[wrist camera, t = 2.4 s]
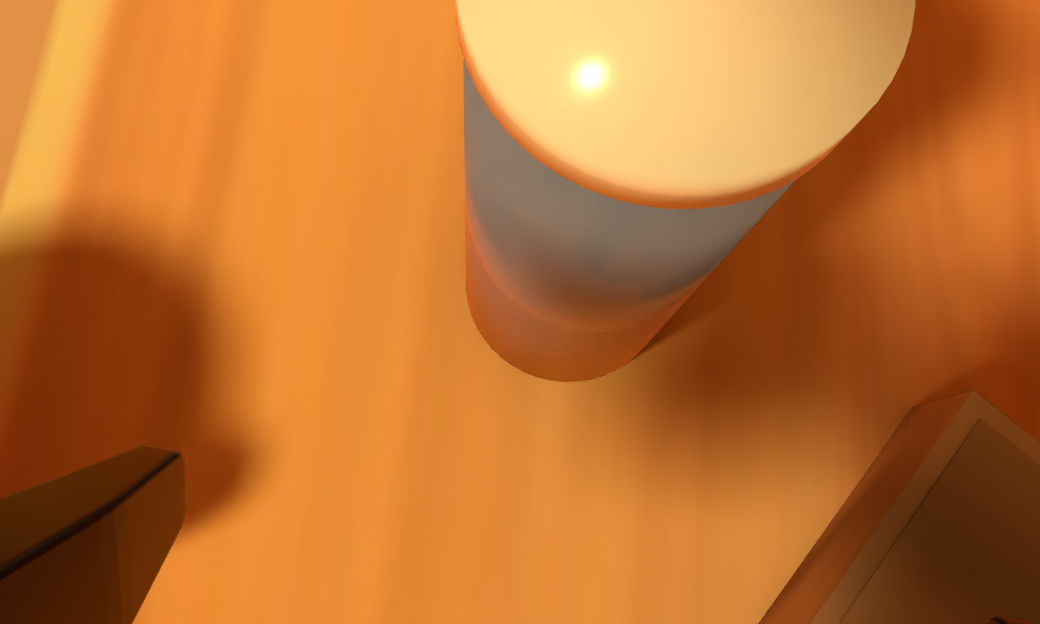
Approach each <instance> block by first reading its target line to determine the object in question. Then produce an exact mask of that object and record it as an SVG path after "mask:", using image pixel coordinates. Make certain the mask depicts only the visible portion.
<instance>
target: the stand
mask: <svg viewBox="0 0 1040 624" xmlns="http://www.w3.org/2000/svg"><path fill="white" fill-rule="evenodd" d="M993 616H1003V617H1007V618H1012V619H1017V620H1022V621H1027V622H1029V623H1031V624H1040V441H1039V440H1037V439H1036V438H1035V437H1034V436H1032V435H1031V434H1030V433H1028V432H1027V431H1026V430H1025V429H1023V428H1022V427H1021V426H1019V425H1018V424H1017V423H1016V422H1014V421H1013V420H1012V419H1010V418H1009V417H1008V416H1007V415H1005V414H1004V413H1003V412H1001V411H1000V410H999V409H998V408H996V407H995V406H994V405H992V404H991V403H990V402H989V401H987V400H986V399H985V398H983V397H982V396H981V395H980V394H978V393H977V392H976V391H974V390H970V391H967V392H963V393H960V394H957V395H953V396H950V397H947V398H943V399H940V400H937V401H933V402H930V403H927V404H923V405H920V406H917V407H913V408H912V409H911V410H910V412H909V413H908V415H907V416H906V417H905V419H904V420H903V422H902V423H901V424H900V426H899V427H898V429H897V430H896V431H895V433H894V434H893V436H892V437H891V438H890V440H889V441H888V443H887V444H886V446H885V447H884V448H883V450H882V451H881V453H880V454H879V455H878V457H877V458H876V460H875V461H874V462H873V464H872V465H871V467H870V468H869V469H868V471H867V472H866V474H865V475H864V476H863V478H862V479H861V481H860V482H859V483H858V485H857V486H856V488H855V489H854V490H853V492H852V493H851V495H850V496H849V497H848V499H847V500H846V502H845V503H844V504H843V506H842V507H841V509H840V510H839V512H838V513H837V514H836V516H835V517H834V519H833V520H832V521H831V523H830V524H829V526H828V527H827V528H826V530H825V531H824V533H823V534H822V535H821V537H820V538H819V540H818V541H817V542H816V544H815V545H814V547H813V548H812V549H811V551H810V552H809V554H808V555H807V556H806V558H805V559H804V561H803V562H802V563H801V565H800V566H799V568H798V569H797V571H796V572H795V573H794V575H793V576H792V578H791V579H790V580H789V582H788V583H787V585H786V586H785V587H784V589H783V590H782V592H781V593H780V594H779V596H778V597H777V599H776V600H775V601H774V603H773V604H772V606H771V607H770V608H769V610H768V611H767V613H766V614H765V615H764V617H763V618H762V620H761V621H760V622H759V624H984V622H985V621H986V620H987V619H989V618H990V617H993Z"/></svg>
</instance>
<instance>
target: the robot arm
mask: <svg viewBox="0 0 1040 624" xmlns="http://www.w3.org/2000/svg"><path fill="white" fill-rule="evenodd" d="M185 511H186V484H185V460H184V456H183V454H182V453H181V452H180V451H178V450H175V449H170V448H165V447H160V446H156V445H143V446H140V447H137V448H134V449H132V450H129V451H126V452H124V453H121V454H118V455H115V456H113V457H110V458H107V459H105V460H102V461H99V462H97V463H94V464H91V465H88V466H86V467H83V468H80V469H78V470H75V471H72V472H70V473H67V474H64V475H61V476H59V477H56V478H53V479H51V480H48V481H45V482H43V483H40V484H37V485H34V486H32V487H29V488H26V489H24V490H21V491H18V492H15V493H13V494H10V495H7V496H5V497H2V498H0V624H132V623H133V621H134V619H135V617H136V615H137V613H138V611H139V609H140V607H141V606H142V604H143V602H144V600H145V598H146V596H147V594H148V592H149V590H150V588H151V586H152V584H153V582H154V580H155V578H156V576H157V574H158V572H159V570H160V568H161V566H162V564H163V562H164V561H165V559H166V557H167V555H168V553H169V551H170V549H171V547H172V545H173V543H174V541H175V539H176V537H177V535H178V533H179V531H180V529H181V526H182V523H183V520H184V516H185ZM984 624H1031V623H1029V622H1027V621H1022V620H1017V619H1012V618H1007V617H1003V616H993V617H990V618H989V619H987V620H986V621H985V622H984Z"/></svg>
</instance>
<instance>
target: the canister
mask: <svg viewBox="0 0 1040 624" xmlns="http://www.w3.org/2000/svg"><path fill="white" fill-rule="evenodd" d="M914 11H915V0H455V14H456V24H457V31H458V37H459V44H460V47H461V50H462V54H463V57H464V143H465V235H466V293H467V300H468V305H469V308H470V312H471V315H472V317H473V320H474V322H475V324H476V326H477V328H478V330H479V331H480V333H481V335H482V336H483V338H484V339H485V341H486V342H487V343H488V344H489V345H490V347H491V348H492V349H493V350H494V351H495V352H496V353H497V354H498V355H499V356H500V357H501V358H503V359H504V360H505V361H507V362H508V363H510V364H511V365H512V366H514V367H516V368H518V369H520V370H521V371H523V372H525V373H528V374H530V375H533V376H536V377H539V378H543V379H547V380H552V381H560V382H578V381H585V380H591V379H594V378H598V377H601V376H604V375H606V374H609V373H611V372H613V371H615V370H617V369H619V368H620V367H622V366H624V365H625V364H627V363H628V362H629V361H630V360H632V359H633V358H634V357H635V356H636V355H637V354H638V353H639V352H640V351H641V350H642V349H643V348H644V347H645V346H646V345H647V344H648V342H649V341H650V340H651V339H652V338H653V337H654V336H655V335H656V334H657V333H658V331H659V330H660V329H661V328H662V327H663V326H664V325H665V324H666V323H667V321H668V320H669V319H670V318H671V317H672V316H673V315H674V314H675V313H676V312H677V310H678V309H679V308H680V307H681V306H682V305H683V304H684V303H685V302H686V300H687V299H688V298H689V297H690V296H691V295H692V294H693V293H694V292H695V291H696V289H697V288H698V287H699V286H700V285H701V284H702V283H703V282H704V281H705V279H706V278H707V277H708V276H709V275H710V274H711V273H712V272H713V271H714V270H715V268H716V267H717V266H718V265H719V264H720V263H721V262H722V261H723V260H724V258H725V257H726V256H727V255H728V254H729V253H730V252H731V251H732V250H733V249H734V247H735V246H736V245H737V244H738V243H739V242H740V241H741V240H742V239H743V238H744V236H745V235H746V234H747V233H748V232H749V231H750V230H751V229H752V228H753V226H754V225H755V224H756V223H757V222H758V221H759V220H760V219H761V218H762V217H763V215H764V214H765V213H766V212H767V211H768V210H769V209H770V208H771V207H772V205H773V204H774V203H775V202H776V201H777V200H778V199H779V198H780V197H781V196H782V194H783V193H784V192H785V191H786V190H787V189H788V188H789V187H790V186H791V184H792V183H793V182H794V181H795V180H796V179H797V178H799V177H801V176H802V175H804V174H805V173H807V172H808V171H809V170H810V169H812V168H813V167H814V166H816V165H817V164H818V163H819V162H821V161H822V160H823V159H824V158H826V156H827V155H828V154H829V153H830V152H831V151H832V150H833V149H834V148H835V147H836V146H837V145H838V144H839V143H840V142H841V141H842V140H843V138H844V137H845V136H846V135H847V134H848V133H849V132H850V131H851V130H852V129H853V128H854V127H855V126H856V124H857V123H858V122H859V121H860V120H861V119H862V118H863V117H864V116H865V115H866V114H867V113H868V112H869V111H870V109H871V108H872V107H873V106H874V105H875V104H876V103H877V102H878V100H879V99H880V97H881V96H882V95H883V93H884V92H885V90H886V89H887V87H888V86H889V84H890V83H891V82H892V80H893V78H894V76H895V74H896V72H897V70H898V68H899V66H900V63H901V61H902V59H903V57H904V55H905V51H906V48H907V45H908V42H909V38H910V35H911V32H912V25H913V18H914Z"/></svg>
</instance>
